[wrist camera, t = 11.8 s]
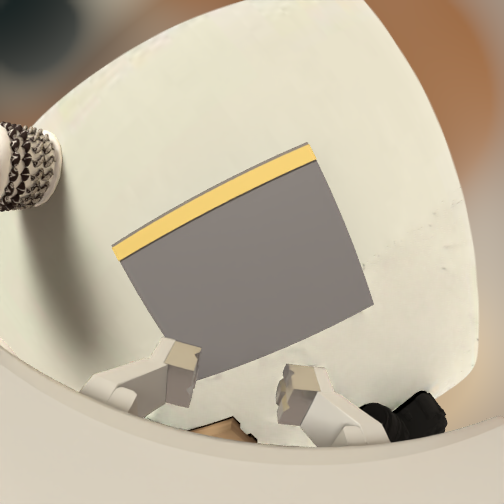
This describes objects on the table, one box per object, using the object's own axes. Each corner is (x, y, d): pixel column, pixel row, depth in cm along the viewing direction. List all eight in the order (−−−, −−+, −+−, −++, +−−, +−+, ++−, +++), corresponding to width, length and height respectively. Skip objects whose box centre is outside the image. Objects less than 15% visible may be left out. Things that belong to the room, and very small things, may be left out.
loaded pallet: (192, 471, 31) (182, 528, 19) (148, 437, 29) (126, 499, 18) (272, 452, 29) (277, 520, 18) (232, 414, 27) (225, 495, 16)
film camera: (411, 364, 26) (447, 409, 17) (431, 396, 28) (460, 435, 19) (311, 433, 28) (323, 488, 19) (346, 455, 30) (360, 499, 21)
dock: (201, 362, 25) (196, 381, 22) (126, 239, 23) (110, 245, 20) (361, 291, 24) (374, 304, 21) (300, 148, 21) (307, 141, 18)
